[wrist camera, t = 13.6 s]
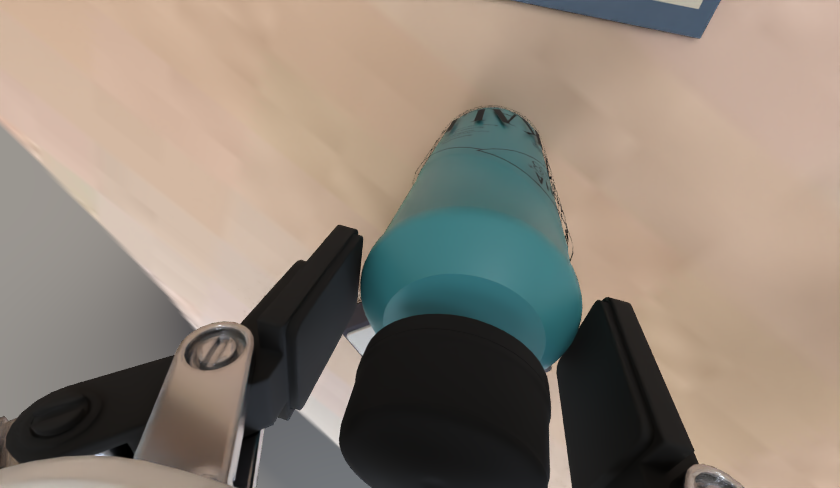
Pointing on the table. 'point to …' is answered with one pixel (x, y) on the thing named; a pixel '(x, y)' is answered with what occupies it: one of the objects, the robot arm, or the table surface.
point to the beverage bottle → (465, 318)
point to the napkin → (643, 12)
